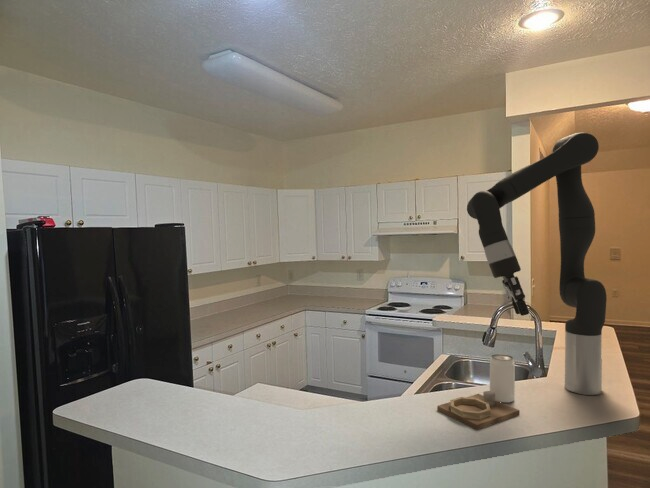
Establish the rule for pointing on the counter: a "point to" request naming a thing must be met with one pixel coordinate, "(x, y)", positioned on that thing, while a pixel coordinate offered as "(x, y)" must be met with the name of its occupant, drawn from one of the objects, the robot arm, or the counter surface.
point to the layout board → (478, 410)
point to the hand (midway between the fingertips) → (522, 314)
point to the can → (502, 378)
